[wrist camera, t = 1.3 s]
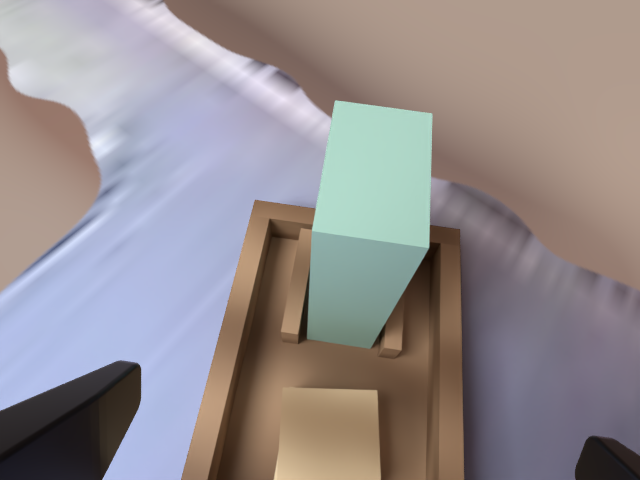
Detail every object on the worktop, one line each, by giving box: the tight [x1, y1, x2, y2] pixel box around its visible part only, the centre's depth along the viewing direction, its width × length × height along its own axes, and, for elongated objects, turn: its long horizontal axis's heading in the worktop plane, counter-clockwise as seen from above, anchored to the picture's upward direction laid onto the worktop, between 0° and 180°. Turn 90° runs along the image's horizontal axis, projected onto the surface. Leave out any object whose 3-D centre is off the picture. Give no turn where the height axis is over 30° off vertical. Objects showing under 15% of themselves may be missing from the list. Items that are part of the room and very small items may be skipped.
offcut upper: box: [277, 387, 381, 480], centre depth 17 cm, size 4×4×1 cm
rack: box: [181, 200, 464, 480], centre depth 20 cm, size 15×11×3 cm
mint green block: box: [307, 101, 432, 349], centre depth 17 cm, size 5×3×11 cm, turn 172°
